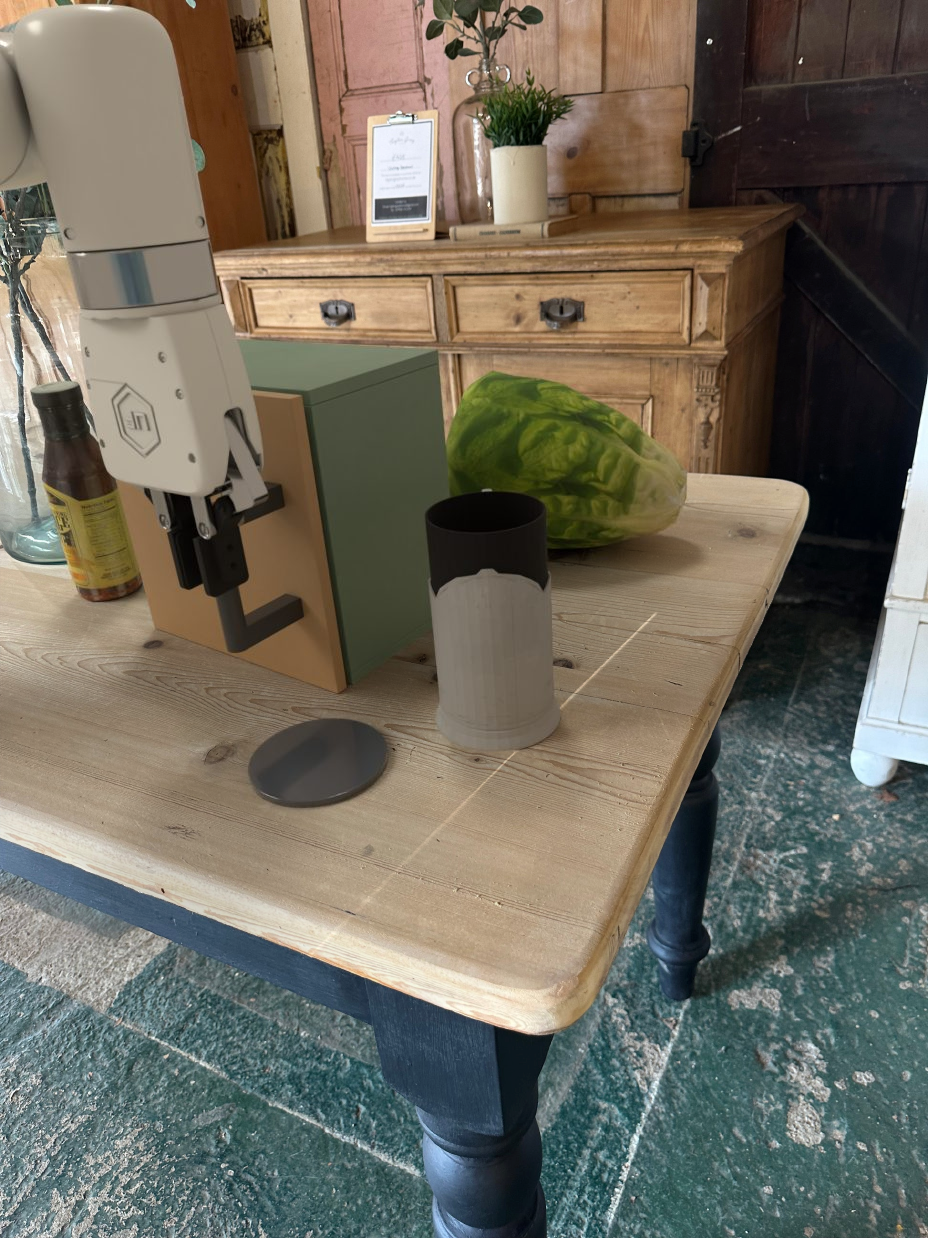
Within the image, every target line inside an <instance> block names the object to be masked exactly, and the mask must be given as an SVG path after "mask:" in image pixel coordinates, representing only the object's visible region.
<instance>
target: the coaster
mask: <svg viewBox="0 0 928 1238" xmlns="http://www.w3.org/2000/svg"><path fill="white" fill-rule="evenodd" d="M388 759H389V753H388V745H387V741H386V740H385V738H384V736H383V735H382V734H381V732H380V731H378V730H377V729H376V728H374V727H373V726H371V725H369V724H367V723H365V722H362V721H359V720H355V719H350V718H341V717H330V718H329V717H328V718H327V717H326V718H319V719H312V720H307V721H304V722H300V723H296V724H294V725H290V726H288V727H287V728H284V729H281V730H280V731H278V732H276V733H274V734H273V735H271V736H270V737H267V739H266V740H264V741H263V742H262V743H261V744H260V745H259V746H258V747H257V748H256V750H255V751H254V752H253V754H252V755H251V756H250V759H249V762H248V766H247V776H248V780H249V784H250V786H251V788H252V790H253V791H254V792H255V794H256V795H258V796H259V797H260V798H261V799H264V800H265V801H267V802H268V803H270V804H273V805H277V806H280V807H286V808H293V809H294V808H295V809H312V808H318V807H319V808H320V807H325V806H330V805H334V804H338V803H340V802H343V801H345V800H348V799H350V798H352V797H354V796H358V794H360V793H362V792H363V791H365V790H366V789H368V788H369V787H371V786H372V785H373V784H374V783H375V782H376V781H377V780H378V779H379V778H380V777H381V775H382V774H383V772H384V771H385V769H386V767H387V764H388Z"/></svg>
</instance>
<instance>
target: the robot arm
mask: <svg viewBox="0 0 928 1238" xmlns="http://www.w3.org/2000/svg"><path fill="white" fill-rule="evenodd" d="M180 79H181V78H180V73H179V69H178V63H177V59H176V55H175V51H174V46H173V43H172V40H171V38H170V36H169V33H168V32H167V30H166V28H165V27H164V26H163V24H162V23H161V22H160V21H159V20H158V19H157V18H156V17H155V16H154V15H152V14H150V13H149V12H146V11H144V10H141V9H138V8H135V7H131V6H128V5H127V6H126V5H119V4H118V5H117V4H105V3H77V4H76V3H75V4H65V5H64V4H63V5H56V6H55V5H54V6H48V7H44V8H40V9H37V10H33V11H32V12H28V13H27V14H25V15H24V16H22V17H21V19H19V21H18V22H17V23H16V25H15V28H14V30H13V32H9V31H8V32H7V31H0V192H5V191H13V190H18V189H24V188H29V187H33V186H36V185H41V184H44V183H46V185H47V188H48V192H49V195H50V200H51V203H52V207H53V211H54V215H55V218H56V223H57V225H58V230H59V234H60V238H61V241H62V245H63V248H64V252H66V253H65V257H66V261H67V265H68V269H69V272H70V276H71V280H72V283H73V287H74V288H73V289H74V291H75V292H74V293H75V295H76V299H77V303H78V306H79V311H80V313H78V330H79V332H78V333H79V343H80V353H81V360H82V367H83V374H84V380H85V386H86V391H87V396H88V401H89V406H90V410H91V415H92V419H93V424H94V429H95V433H96V437H97V441H98V442H99V446H100V450H101V454H102V457H103V461H104V464H105V467H106V469H107V471H108V472H109V474H110V475H112V476H113V477H114V478H116V479H117V480H119V481H121V482H124V483H127V484H131V485H133V486H135V487H136V488H137V489H139V490H140V491H142V492H143V493H145V495H146V497H147V498H148V499H149V500H150V502H151V503H152V504H153V505H154V508H155V511H156V515H157V519H158V522H159V524H160V526H161V527H162V528H163V529H164V530H169V529H171V531H169V532H167V536H168V540H169V544H170V548H171V552H172V556H173V560H174V564H175V568H176V572H177V576H178V580H179V585H180V587H181V588H183V589H186V590H191V589H193V588H195V587H197V586H199V585H201V584H203V585H204V590H205V593H206V594H207V595H208V596H211V597H218V596H220V595H222V594H224V593H226V592H228V591H230V590H232V589H234V588H236V587H237V586H239V585H241V584H243V583H245V582H247V581H248V579H249V572H248V568H247V563H246V558H245V553H244V548H243V543H242V538H241V533H240V529H239V526H240V525H242V524H243V523H244V520H245V519H244V514H245V512H246V511H247V509H248V508H251V507H253V506H255V505H258V504H260V503H262V502H265V501H267V500H268V497H269V495H268V491H267V489H266V486H265V484H264V482H263V480H262V478H261V475H260V473H261V471H262V469H263V465H264V454H263V445H262V437H261V431H260V426H259V421H258V416H257V411H256V406H255V402H254V398H253V394H252V390H251V385H250V382H249V378H248V374H247V371H246V367H245V363H244V360H243V357H242V353H241V350H240V347H239V343H238V340H237V339H238V338H237V334H236V331H235V329H234V325H233V323H232V321H231V317H230V315H229V312H228V309H227V307H226V304H223V300H222V294H221V290H220V285H219V279H218V275H217V274H218V273H217V268H216V263H215V257H214V253H213V248H212V243H211V240H210V233H209V228H208V224H207V218H206V217H207V216H206V213H205V207H204V201H203V197H202V190H201V185H200V180H199V179H200V178H199V174H198V170H197V164H196V163H197V162H196V157H195V153H194V147H193V142H192V138H191V133H190V132H191V131H190V127H189V121H188V117H187V116H188V115H187V110H186V106H185V100H184V94H183V90H182V84H181V80H180ZM219 493H220V494H221V497H219V498H217V499H216V501H215V502H214V504H213V506H212V503H211V498H210V497H212V496H214V495H217V494H219Z"/></svg>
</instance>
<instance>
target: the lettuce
mask: <svg viewBox="0 0 928 1238" xmlns="http://www.w3.org/2000/svg"><path fill="white" fill-rule="evenodd" d="M445 443H446V456H447V468H448V481H449V493H450V497H453V496H457V495H462V494H467V493H474V492H482V490H483V489H492V491H507V492H516V493H522V494H526V495H530V496H533V497H535V498H537V499H539V500H541V501H542V502H543V503H544V504H545V506H546V523H547V549H556V550H557V549H559V550H574V549H586V548H594V547H595V548H596V547H601V546H609V545H613V544H617V543H619V542H622V541H623V542H624V541H625V540H629V539H636V538H640V537H648V536H653V535H656V534H658V533H660V532H663V531H665V530H667V529H668V528H670V527H671V526H673V525H675V524H676V522H678V521H677V520H678V518H679V516H680V514H681V512H682V509H683V508H684V505H685V503H686V502H687V497H688V491H687V490H688V471H687V469H686V468H685V467H684V465H683V463H682V462H681V461H680V459H679V458H678V457H677V456H676V455H675V454H674V453H673V452H672V450H670V449H668V448H667V447H665V446H664V445H663V444H661V443H660V442H659V441H657V440H656V439H654V438H653V437H652V436H650V435H649V434H648V432H646V430H644V429H643V428H642V427H641V426H640V425H639V424H638V422H636V421H634V420H633V419H631V418H630V417H629V416H627V415H626V414H624V413H622V412H621V411H620V410H617V409H615V408H613V407H611V406H609V405H607V404H605V403H603V402H601V401H598V400H596V399H592V398H591V397H588V396H586V395H585V394H583V393H581V392H579V391H577V390H575V389H573V388H572V387H570V386H568V385H567V384H565V383H561V382H558V381H553V380H549V379H546V378H540V377H531V376H519V375H513V374H509V373H505V372H500V371H497V370H496V371H495V370H491V371H489V372H488V373H486V374H484V375H482V377H480V378H478V379H476V380H475V381H473V382H471V383H470V385H468V387H467V388H466V390H465V391H464V392H463V394H462V397H461V399H460V402H459V404H458V406H457V409H456V412H455V413H454V416H453V419H452V421H451V424H450V427H449V430H448V434H447V437H446V440H445Z"/></svg>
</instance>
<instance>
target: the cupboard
mask: <svg viewBox="0 0 928 1238" xmlns="http://www.w3.org/2000/svg"><path fill="white" fill-rule="evenodd" d="M237 340H238V343H239V347H240V350H241V353H242V357H243V360H244V363H245V367H246V371H247V374H248V378H249V382H250V385H251V390H256V391H265V392H275V393H284V394H294V395H302V400H303V406H304V413H305V419H306V426H307V432H308V439H309V445H310V452H311V458H312V465H313V471H314V478H315V484H316V491H317V497H318V504H319V510H320V517H321V523H322V530H323V536H324V543H325V549H326V556H327V562H328V569H329V575H330V581H331V588H332V594H333V601H334V607H335V614H336V620H337V627H338V633H339V640H340V646H341V653H342V659H343V666H344V672H345V679H346V684H350V685H354V684H356V683H357V682H359V681H360V680H361V679H363V678H364V677H366V676H368V675H369V674H370V673H372V672H373V671H374V670H376V669H378V668H379V667H381V665H383V664H385V663H386V662H387V661H389V660H390V659H391V658H393V657H394V656H396V655H397V654H398V653H400V652H401V651H403V650H404V649H406V648H407V647H408V646H410V645H412V644H413V643H414V642H416V641H417V640H418V639H420V638H421V637H423V636H424V635H425V634H427V633H428V632H430V631H431V630H433V625H432V614H431V604H430V594H429V583H428V579H429V578H431V575H430V565H429V554H428V544H427V533H426V523H425V513H426V511H427V510H428V509H429V507H431V506H432V505H434V504H435V503H437V502H439V501H441V500H444V499H447V498H450V493H449V481H448V468H447V456H446V432H445V431H446V430H445V421H444V420H445V418H444V408H443V395H442V383H441V382H442V381H441V370H440V356H439V350H438V348H436V349H435V348H417V347H401V346H400V347H397V346H382V345H381V346H378V345H360V344H359V345H358V344H344V343H343V344H342V343H323V342H322V343H321V342H302V341H286V340H285V341H282V340H265V339H264V340H263V339H244V338H237Z"/></svg>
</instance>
